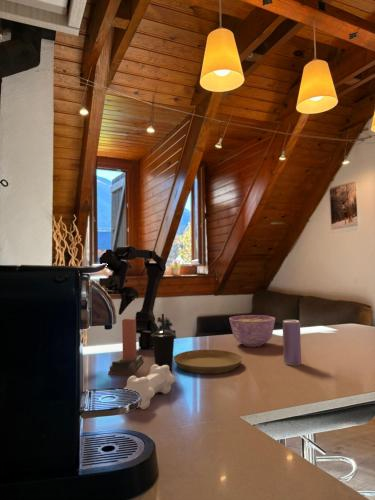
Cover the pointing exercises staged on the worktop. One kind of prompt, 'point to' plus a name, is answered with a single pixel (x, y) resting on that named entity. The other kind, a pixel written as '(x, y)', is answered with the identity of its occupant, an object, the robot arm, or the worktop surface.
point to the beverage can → (291, 342)
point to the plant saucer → (207, 361)
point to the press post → (129, 340)
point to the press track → (125, 366)
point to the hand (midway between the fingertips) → (109, 314)
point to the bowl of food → (252, 329)
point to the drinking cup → (163, 346)
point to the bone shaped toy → (151, 383)
